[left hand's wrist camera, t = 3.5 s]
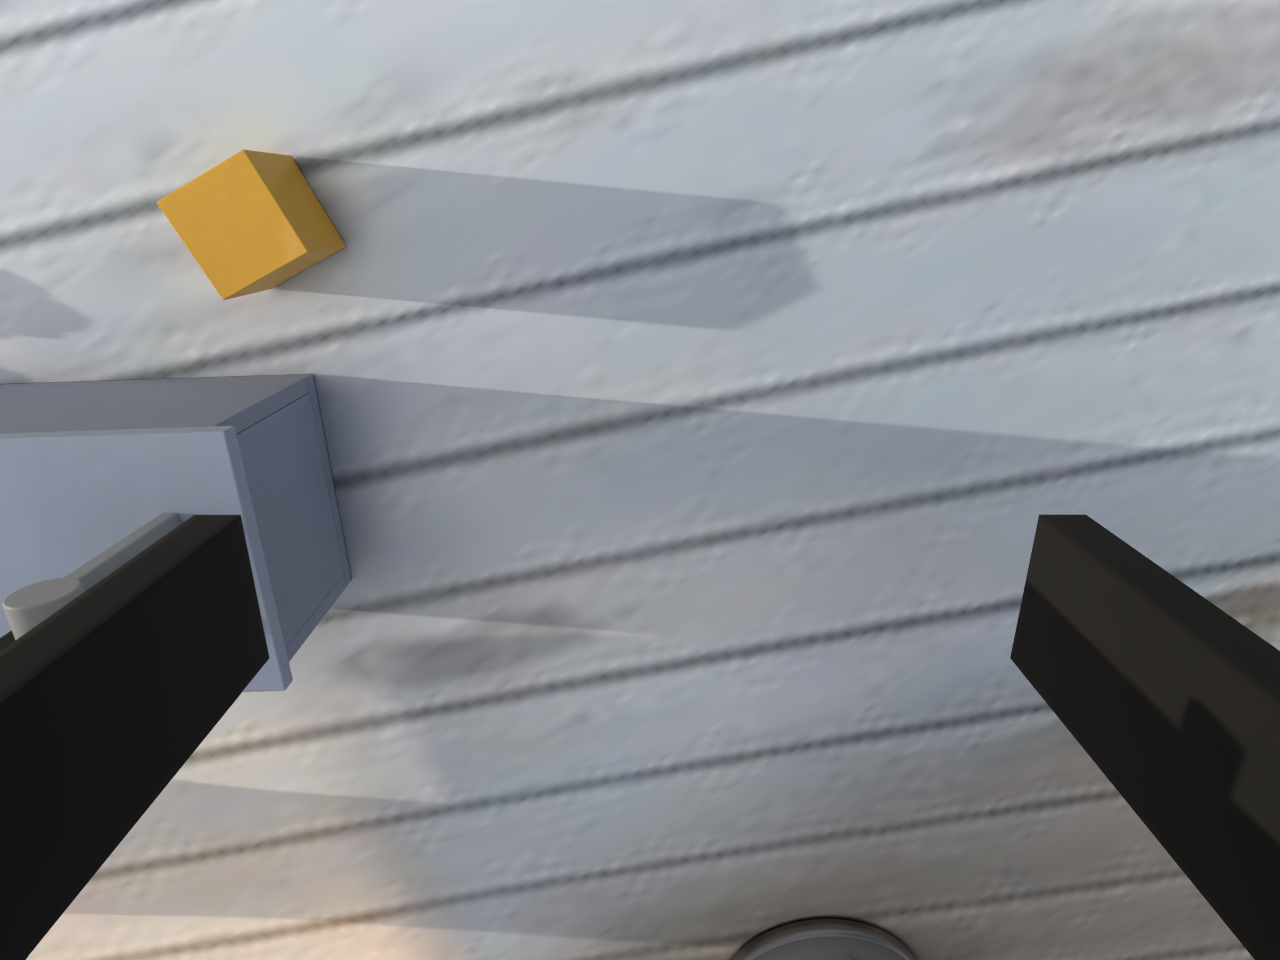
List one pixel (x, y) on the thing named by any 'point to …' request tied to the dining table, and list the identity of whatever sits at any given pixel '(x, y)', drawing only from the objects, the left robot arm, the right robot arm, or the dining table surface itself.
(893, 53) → the dining table surface
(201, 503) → the lid
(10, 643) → the right robot arm
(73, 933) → the dining table surface
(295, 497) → the chest
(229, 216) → the block
